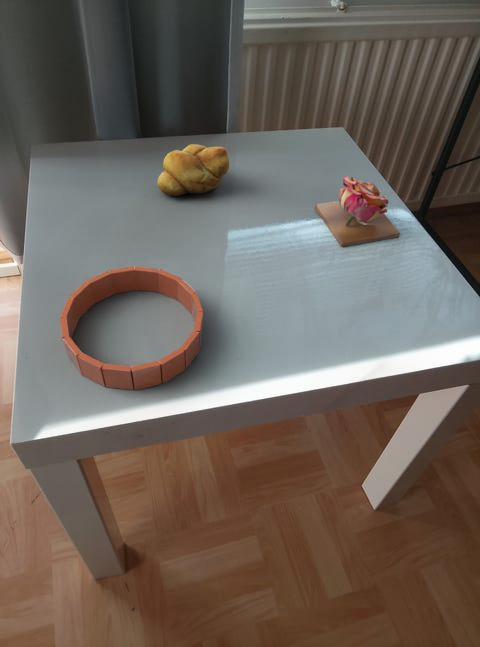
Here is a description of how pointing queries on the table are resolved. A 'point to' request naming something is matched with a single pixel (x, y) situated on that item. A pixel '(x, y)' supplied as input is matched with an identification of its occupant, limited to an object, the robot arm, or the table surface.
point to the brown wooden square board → (354, 226)
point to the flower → (361, 201)
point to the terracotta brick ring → (125, 282)
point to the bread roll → (193, 170)
